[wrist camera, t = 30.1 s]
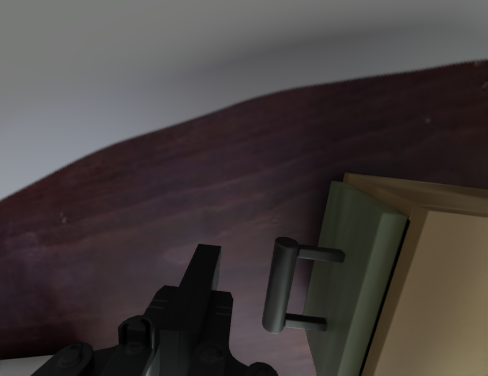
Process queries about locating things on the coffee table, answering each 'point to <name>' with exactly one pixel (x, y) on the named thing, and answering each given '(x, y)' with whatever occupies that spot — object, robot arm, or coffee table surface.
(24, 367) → the mug
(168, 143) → the coffee table surface
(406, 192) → the cabinet
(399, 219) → the drawer
